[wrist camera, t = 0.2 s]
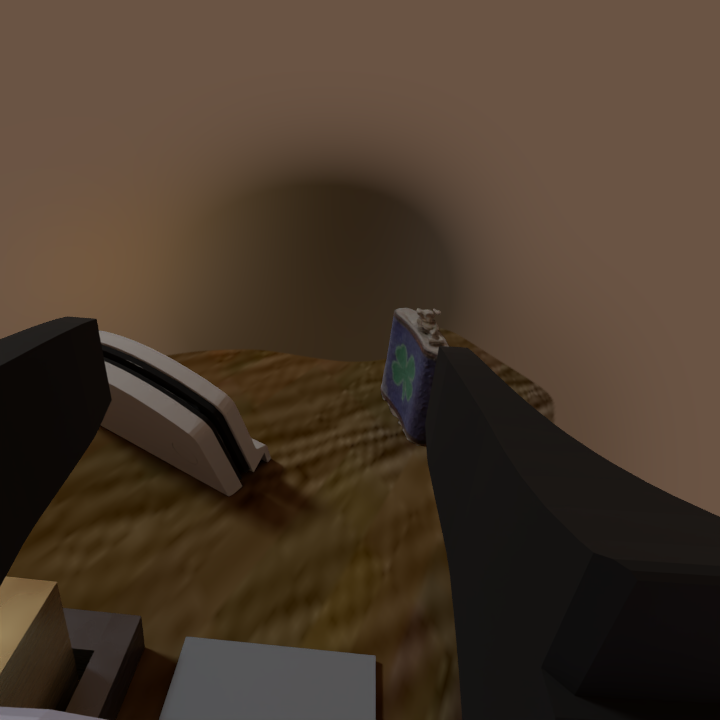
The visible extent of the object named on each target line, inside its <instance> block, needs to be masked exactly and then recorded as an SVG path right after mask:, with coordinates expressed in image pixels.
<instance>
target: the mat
mask: <svg viewBox="0 0 720 720" xmlns="http://www.w3.org/2000/svg"><path fill="white" fill-rule="evenodd" d="M159 720H376V662H375V656H373V655H363V654H353V653H343V652H333V651H323V650H313V649H304V648H294V647H284V646H274V645H264V644H254V643H244V642H234V641H225V640H215V639H205V638H195V637H186V639H185V642H184V645H183V648H182V651H181V654H180V657H179V660H178V663H177V666H176V669H175V672H174V675H173V678H172V681H171V684H170V688H169V691H168V694H167V697H166V700H165V703H164V706H163V709H162V712H161V715H160V718H159Z"/></svg>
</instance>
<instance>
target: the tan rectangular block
mask: <svg viewBox="0 0 720 720" xmlns="http://www.w3.org/2000/svg"><path fill="white" fill-rule="evenodd" d="M78 684H79V678H78V673H77V669H76V664H75V660H74V655H73V651H72V647H71V642H70V638H69V633H68V629H67V624H66V620H65V616H64V611H63V607H62V602H61V598H60V593H59V589H58V585H57V582H52V581H43V580H33V579H24V578H14V577H5V579H4V581H3V582H2V584H1V586H0V707H14V708H33V709H50V710H56V711H62V712H65V711H66V709H67V707H68V705H69V703H70V701H71V699H72V696H73V694H74V692H75V690H76V688H77V686H78Z"/></svg>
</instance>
